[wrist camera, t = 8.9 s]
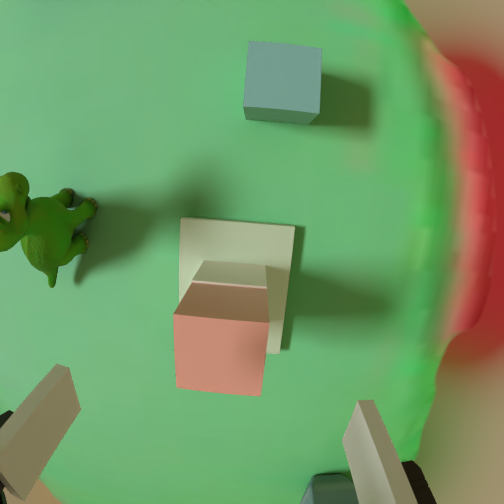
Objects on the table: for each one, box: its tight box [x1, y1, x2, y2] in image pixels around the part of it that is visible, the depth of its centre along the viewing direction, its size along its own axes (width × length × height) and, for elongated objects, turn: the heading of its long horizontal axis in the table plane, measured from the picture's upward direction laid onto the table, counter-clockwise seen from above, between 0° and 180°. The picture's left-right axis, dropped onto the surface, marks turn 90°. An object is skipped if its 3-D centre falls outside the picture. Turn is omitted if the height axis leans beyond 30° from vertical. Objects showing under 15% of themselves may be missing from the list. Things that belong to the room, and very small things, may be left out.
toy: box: [0, 172, 97, 288], centre depth 24 cm, size 6×14×15 cm, turn 157°
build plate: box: [179, 217, 295, 354], centre depth 29 cm, size 14×11×7 cm
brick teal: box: [243, 41, 322, 125], centre depth 24 cm, size 6×6×6 cm
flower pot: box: [300, 474, 359, 504], centre depth 36 cm, size 9×9×9 cm
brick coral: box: [173, 282, 270, 396], centre depth 22 cm, size 6×6×6 cm
